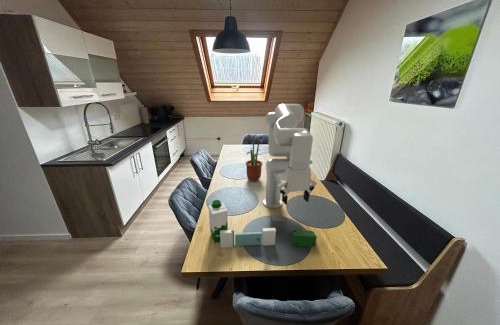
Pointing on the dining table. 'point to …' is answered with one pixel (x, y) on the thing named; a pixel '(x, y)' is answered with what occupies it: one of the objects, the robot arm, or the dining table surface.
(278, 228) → the gray rectangular block
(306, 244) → the clamp
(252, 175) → the potted plant
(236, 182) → the dining table surface
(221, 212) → the milk carton
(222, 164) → the dining table surface
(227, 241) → the white rectangular block
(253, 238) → the door
